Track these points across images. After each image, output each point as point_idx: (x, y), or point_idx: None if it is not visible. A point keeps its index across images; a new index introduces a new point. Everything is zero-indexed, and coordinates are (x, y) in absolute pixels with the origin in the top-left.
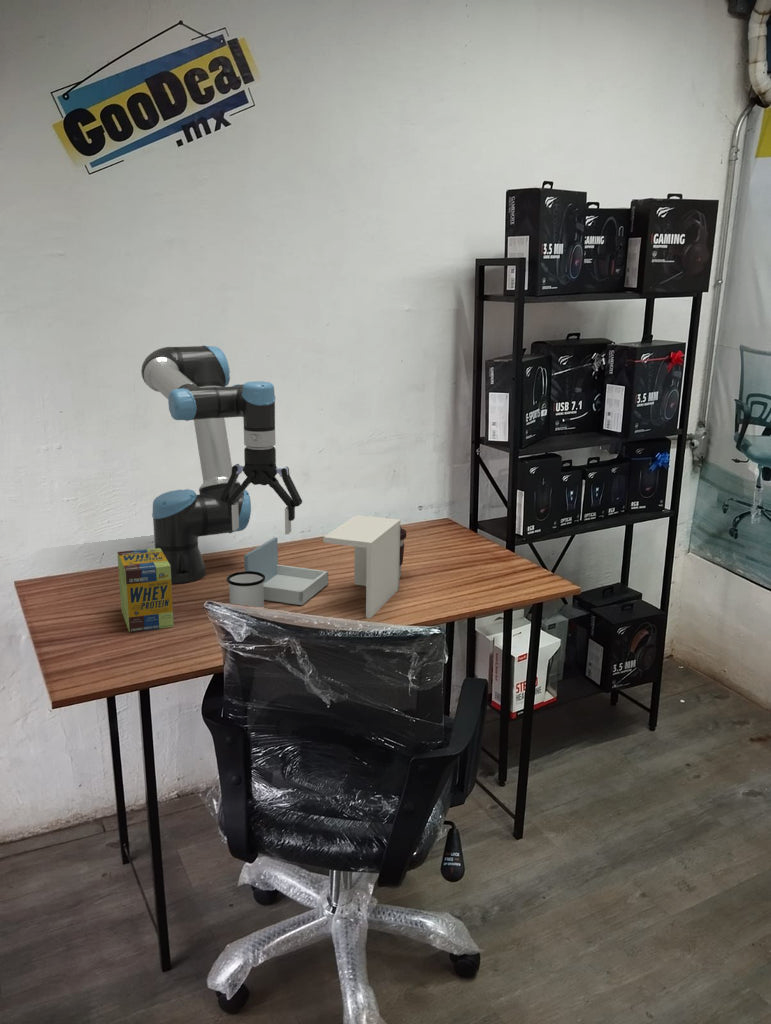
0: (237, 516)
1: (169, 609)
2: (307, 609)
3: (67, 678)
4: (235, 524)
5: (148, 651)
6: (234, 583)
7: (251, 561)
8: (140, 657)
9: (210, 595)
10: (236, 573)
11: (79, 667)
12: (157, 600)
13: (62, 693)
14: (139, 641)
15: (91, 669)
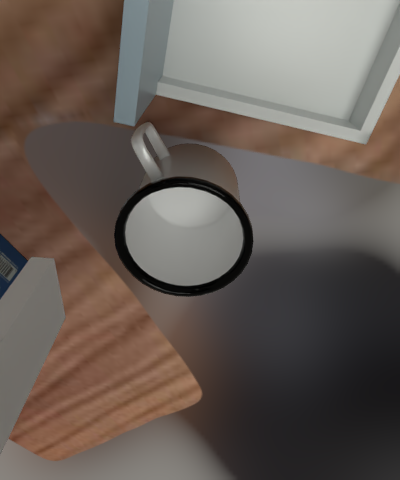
0: (15, 351)
1: None
2: (366, 149)
3: (22, 435)
4: (48, 342)
5: (77, 373)
6: (162, 292)
7: (146, 76)
8: (78, 389)
9: (23, 73)
10: (132, 208)
11: None
12: None
13: (46, 457)
14: None
15: (34, 418)
